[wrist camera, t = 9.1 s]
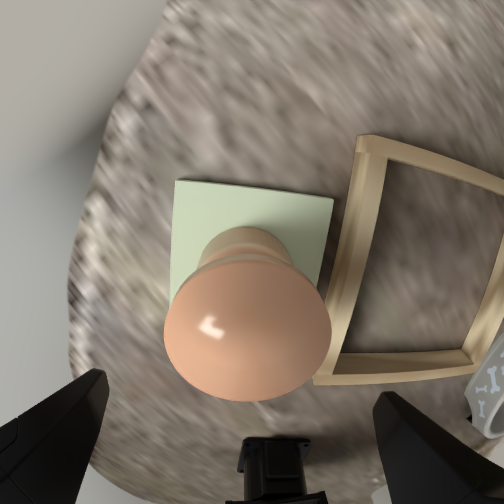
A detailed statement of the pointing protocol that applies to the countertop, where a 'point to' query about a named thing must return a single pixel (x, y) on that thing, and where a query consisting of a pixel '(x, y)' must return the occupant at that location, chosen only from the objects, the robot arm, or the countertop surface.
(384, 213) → the countertop surface
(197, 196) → the potting mat
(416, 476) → the robot arm
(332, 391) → the countertop surface
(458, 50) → the countertop surface
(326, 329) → the peach rimmed cylinder
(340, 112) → the countertop surface
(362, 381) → the wooden square frame
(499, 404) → the dog bowl
